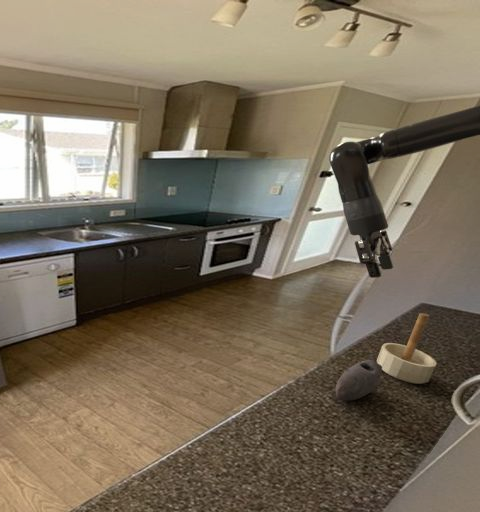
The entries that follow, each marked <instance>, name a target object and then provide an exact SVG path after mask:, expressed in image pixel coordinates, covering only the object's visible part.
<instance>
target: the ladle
mask: <svg viewBox="0 0 480 512" xmlns="http://www.w3.org/2000/svg"><path fill="white" fill-rule="evenodd" d="M429 318H430V315H429V314H428V313H424V312H419V313H418V317H417V320H416V321H415V324H414V327H413V329H412V331H411V334H410V336H409V338H408V341H407V344H406V345H405V346H406V349H405V351H404V353H403V356H402V358H401V359H403V360H405V361H408V362H410V361H411V359H412V356H413V354H414V352H415V349H417V347H418V344H419V342H420V339H421V337H422V335H423V332H424V330H425V328H426V325H427V323H428V321H429Z"/></svg>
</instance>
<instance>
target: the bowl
mask: <svg viewBox="0 0 480 512" xmlns="http://www.w3.org/2000/svg"><path fill="white" fill-rule="evenodd" d="M406 346H407V345H405V344H400V343H396V342H395V343H394V342H386V343H383V344H382V345H381V348H380V350H379V354H378V356H377V358H376V363H378V364H379V365H381V366H382V372H384V373H386V374H387V375H389V376H391V377H393V378H395V379H398V380H400V381H403V382H406V383H410V384H415V385H422V384H426V383H429V381H430V380H431V377H432V375H433V373H434V371H435V369H436V366H437V364H438V363H437V361H436V359H434V358H433V357H432V356H430V355H429V354H427V353H426V352H424V351H421V350H419V349H417V348H416V349H415V352H414V354H413V356H412V359H411V361H410V362H408V361H405V360H403V359H401V358H402V356H403V353H404V351H405V349H406Z"/></svg>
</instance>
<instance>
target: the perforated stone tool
mask: <svg viewBox="0 0 480 512" xmlns="http://www.w3.org/2000/svg"><path fill="white" fill-rule="evenodd" d="M382 374H383V370H382V366H381V365H379V364H378V363H377V361H375V360H374V359H366V360H362V361H359V362H357V363H355V364H354V365H352V366H350V367H348V368H347V369H345V371H344V372H343V373H342V374H341V375H340V377H339V379H338V380H337V382H336V385H335V396H336V398H337V399H339V400H340V401H347V402H349V401H355V400H358V399H361V398H363V397H365V396H367V395H369V394H370V393H371V394H372V392H374V391H375V390H377V388H379V387H380V386H381V384H382V378H381V376H382Z"/></svg>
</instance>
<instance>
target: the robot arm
mask: <svg viewBox="0 0 480 512" xmlns="http://www.w3.org/2000/svg"><path fill="white" fill-rule="evenodd" d="M479 136H480V104H479V105H476V106H472V107H468V108H465V109H462V110H457V111H454V112H450V113H447V114H443V115H439V116H435V117H431V118H428V119H424V120H420V121H417V122H413V123H410V124H405V125H404V126H399V127H396V128H394V129H390V130H389V129H388V130H386V131H383V132H381V133H380V134H378V135H376V136H372V137H370V138H365V139H363V140H359V141H344V142H342V143H339V144H338V145H336V146H335V147H333V149H332V150H331V151H330V153H329V158H328V161H329V164H330V167H331V169H332V172H333V175H334V178H335V180H336V182H337V188H338V194H339V197H340V200H341V203H342V208H343V213H344V217H345V220H346V224H347V227H348V230H349V234H350V235H351V236H359V240H355V241H354V245H355V250H356V253H357V257H358V261H359V264H364V265H365V267H366V270H367V274H368V276H369V278H371V279H377V278H380V277H382V272H381V270H384V271H385V270H392V269H393V268H394V265H393V261H392V259H391V254H392V251H393V247H392V244H391V241H390V238H389V235H388V232H387V229H388V228H389V223H388V221H387V217H386V215H385V211H384V207H383V204H382V202H381V199H380V197H379V196H378V193H377V190H376V186H375V184H374V180H373V179H372V176H371V175H370V169H369V165H372V164H375V163H377V162H381V161H382V162H383V161H386V160H392V159H398V158H402V157H405V156H408V155H413V154H417V153H421V152H424V151H428V150H431V149H436V148H439V147H442V146H446V145H449V144H452V143H456V142H461V141H463V140H466V139H467V140H468V139H470V138H475V137H479ZM378 261H379V263H378ZM379 264H380V266H379Z"/></svg>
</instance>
